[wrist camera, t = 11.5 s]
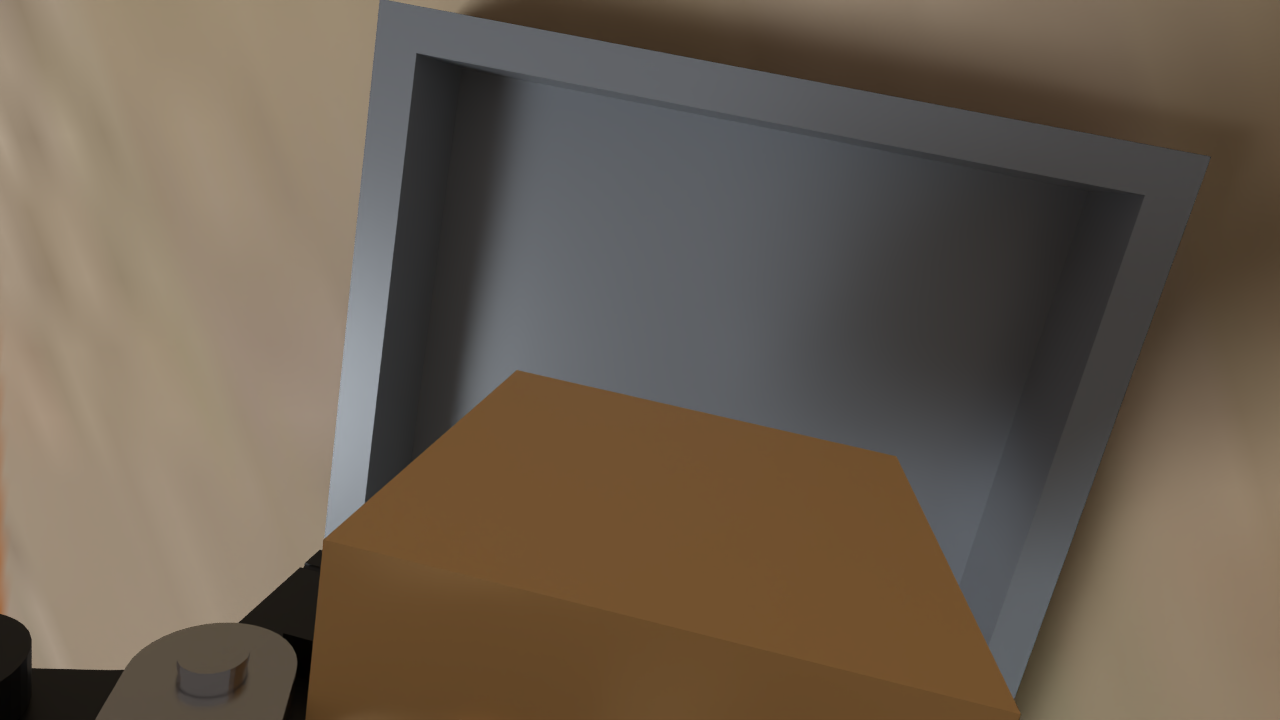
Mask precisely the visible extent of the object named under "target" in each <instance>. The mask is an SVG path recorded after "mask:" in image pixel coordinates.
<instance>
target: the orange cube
mask: <svg viewBox="0 0 1280 720" xmlns="http://www.w3.org/2000/svg"><path fill="white" fill-rule="evenodd" d="M1020 716H1021V713H1020V711H1019V709H1018V707H1017V705H1016V703H1015V701H1014V699H1013V697H1012V695H1011V693H1010V691H1009V688H1008V686H1007V684H1006V682H1005V680H1004V678H1003V676H1002V674H1001V672H1000V670H999V668H998V666H997V664H996V662H995V659H994V657H993V655H992V653H991V651H990V649H989V647H988V645H987V643H986V641H985V639H984V637H983V635H982V633H981V630H980V628H979V626H978V624H977V622H976V620H975V618H974V616H973V614H972V612H971V610H970V608H969V606H968V604H967V601H966V599H965V597H964V595H963V593H962V591H961V589H960V587H959V585H958V583H957V581H956V579H955V577H954V575H953V572H952V570H951V568H950V566H949V564H948V562H947V560H946V558H945V556H944V554H943V552H942V550H941V548H940V546H939V543H938V541H937V539H936V537H935V535H934V533H933V531H932V529H931V527H930V525H929V523H928V521H927V519H926V517H925V514H924V512H923V510H922V508H921V506H920V504H919V502H918V500H917V498H916V496H915V494H914V492H913V490H912V488H911V485H910V483H909V481H908V479H907V477H906V475H905V473H904V471H903V469H902V467H901V465H900V463H899V461H898V459H897V456H893V455H889V454H884V453H880V452H875V451H871V450H867V449H862V448H858V447H853V446H849V445H845V444H840V443H836V442H831V441H827V440H823V439H818V438H814V437H809V436H805V435H801V434H796V433H792V432H787V431H783V430H779V429H774V428H770V427H765V426H761V425H757V424H752V423H748V422H743V421H739V420H735V419H730V418H726V417H721V416H717V415H713V414H708V413H704V412H699V411H695V410H691V409H686V408H682V407H677V406H673V405H669V404H664V403H660V402H655V401H651V400H647V399H642V398H638V397H633V396H629V395H625V394H620V393H616V392H611V391H607V390H603V389H598V388H594V387H589V386H585V385H581V384H576V383H572V382H567V381H563V380H559V379H554V378H550V377H545V376H541V375H537V374H532V373H528V372H523V371H519V370H516V371H515V372H514V373H513V374H512V375H511V376H509V377H508V378H507V379H506V380H505V381H504V382H503V383H501V384H500V385H499V386H498V387H497V388H496V389H495V390H493V391H492V392H491V393H490V394H489V395H488V396H487V397H485V398H484V399H483V400H482V401H481V402H480V403H479V404H477V405H476V406H475V407H474V408H473V409H472V410H471V411H470V412H468V413H467V414H466V415H465V416H464V417H463V418H462V419H460V420H459V421H458V422H457V423H456V424H455V425H454V426H452V427H451V428H450V429H449V430H448V431H447V432H446V433H444V434H443V435H442V436H441V437H440V438H439V439H438V440H436V441H435V442H434V443H433V444H432V445H431V446H430V447H428V448H427V449H426V450H425V451H424V452H423V453H422V454H420V455H419V456H418V457H417V458H416V459H415V460H414V461H413V462H411V463H410V464H409V465H408V466H407V467H406V468H405V469H403V470H402V471H401V472H400V473H399V474H398V475H397V476H395V477H394V478H393V479H392V480H391V481H390V482H389V483H387V484H386V485H385V486H384V487H383V488H382V489H381V490H379V491H378V492H377V493H376V494H375V495H374V496H373V497H371V498H370V499H369V500H368V501H367V502H366V503H365V504H363V505H362V506H361V507H360V508H359V509H358V510H357V511H355V512H354V513H353V514H352V515H351V516H350V517H349V518H348V519H346V520H345V521H344V522H343V523H342V524H341V525H340V526H338V527H337V528H336V529H335V530H334V531H333V532H332V533H330V534H329V535H328V536H327V537H326V538H325V539H324V540H323V550H322V560H321V570H320V579H319V589H318V599H317V609H316V619H315V629H314V639H313V649H312V659H311V669H310V679H309V689H308V698H307V708H306V718H305V720H1019V718H1020Z"/></svg>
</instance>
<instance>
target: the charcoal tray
mask: <svg viewBox="0 0 1280 720" xmlns="http://www.w3.org/2000/svg"><path fill="white" fill-rule="evenodd" d="M1210 158H1211V157H1210V156H1205V155H1199V154H1194V153H1189V152H1184V151H1178V150H1173V149H1168V148H1163V147H1157V146H1152V145H1147V144H1142V143H1136V142H1131V141H1126V140H1120V139H1115V138H1110V137H1105V136H1099V135H1094V134H1089V133H1084V132H1078V131H1073V130H1068V129H1063V128H1057V127H1052V126H1047V125H1041V124H1036V123H1031V122H1026V121H1020V120H1015V119H1010V118H1005V117H999V116H994V115H989V114H984V113H978V112H973V111H968V110H963V109H957V108H952V107H947V106H941V105H936V104H931V103H926V102H920V101H915V100H910V99H905V98H899V97H894V96H889V95H884V94H878V93H873V92H868V91H862V90H857V89H852V88H847V87H841V86H836V85H831V84H826V83H820V82H815V81H810V80H805V79H799V78H794V77H789V76H784V75H778V74H773V73H768V72H762V71H757V70H752V69H747V68H741V67H736V66H731V65H726V64H720V63H715V62H710V61H705V60H699V59H694V58H689V57H683V56H678V55H673V54H668V53H662V52H657V51H652V50H647V49H641V48H636V47H631V46H626V45H620V44H615V43H610V42H605V41H599V40H594V39H589V38H583V37H578V36H573V35H568V34H562V33H557V32H552V31H547V30H541V29H536V28H531V27H526V26H520V25H515V24H510V23H504V22H499V21H494V20H489V19H483V18H478V17H473V16H468V15H462V14H457V13H452V12H447V11H441V10H436V9H431V8H426V7H420V6H415V5H410V4H404V3H399V2H394V1H389V0H380V3H379V13H378V22H377V32H376V42H375V52H374V61H373V71H372V81H371V91H370V100H369V110H368V120H367V129H366V139H365V149H364V159H363V168H362V178H361V188H360V198H359V207H358V217H357V227H356V236H355V246H354V256H353V266H352V275H351V285H350V295H349V305H348V314H347V324H346V334H345V344H344V353H343V363H342V373H341V382H340V392H339V402H338V412H337V421H336V431H335V441H334V451H333V460H332V470H331V480H330V489H329V499H328V509H327V519H326V528H325V538H326V537H327V536H328V535H329V534H330V533H332V532H333V531H334V530H335V529H336V528H337V527H338V526H340V525H341V524H342V523H343V522H344V521H345V520H346V519H348V518H349V517H350V516H351V515H352V514H353V513H354V512H355V511H357V510H358V509H359V508H360V507H361V506H362V505H363V504H365V503H366V502H367V501H368V500H369V499H370V498H371V497H373V496H374V495H375V494H376V493H377V492H378V491H379V490H381V489H382V488H383V487H384V486H385V485H386V484H387V483H389V482H390V481H391V480H392V479H393V478H394V477H395V476H397V475H398V474H399V473H400V472H401V471H402V470H403V469H405V468H406V467H407V466H408V465H409V464H410V463H411V462H413V461H414V460H415V459H416V458H417V457H418V456H419V455H420V454H422V453H423V452H424V451H425V450H426V449H427V448H428V447H430V446H431V445H432V444H433V443H434V442H435V441H436V440H438V439H439V438H440V437H441V436H442V435H443V434H444V433H446V432H447V431H448V430H449V429H450V428H451V427H452V426H454V425H455V424H456V423H457V422H458V421H459V420H460V419H462V418H463V417H464V416H465V415H466V414H467V413H468V412H470V411H471V410H472V409H473V408H474V407H475V406H476V405H477V404H479V403H480V402H481V401H482V400H483V399H484V398H485V397H487V396H488V395H489V394H490V393H491V392H492V391H493V390H495V389H496V388H497V387H498V386H499V385H500V384H501V383H503V382H504V381H505V380H506V379H507V378H508V377H509V376H511V375H512V374H513V373H514V372H515V371H516V370H519V371H523V372H528V373H532V374H537V375H541V376H545V377H550V378H554V379H559V380H563V381H567V382H572V383H576V384H581V385H585V386H589V387H594V388H598V389H603V390H607V391H611V392H616V393H620V394H625V395H629V396H633V397H638V398H642V399H647V400H651V401H655V402H660V403H664V404H669V405H673V406H677V407H682V408H686V409H691V410H695V411H699V412H704V413H708V414H713V415H717V416H721V417H726V418H730V419H735V420H739V421H743V422H748V423H752V424H757V425H761V426H765V427H770V428H774V429H779V430H783V431H787V432H792V433H796V434H801V435H805V436H809V437H814V438H818V439H823V440H827V441H831V442H836V443H840V444H845V445H849V446H853V447H858V448H862V449H867V450H871V451H875V452H880V453H884V454H889V455H893V456H897V459H898V461H899V463H900V465H901V467H902V469H903V471H904V473H905V475H906V477H907V479H908V481H909V483H910V485H911V488H912V490H913V492H914V494H915V496H916V498H917V500H918V502H919V504H920V506H921V508H922V510H923V512H924V514H925V517H926V519H927V521H928V523H929V525H930V527H931V529H932V531H933V533H934V535H935V537H936V539H937V541H938V543H939V546H940V548H941V550H942V552H943V554H944V556H945V558H946V560H947V562H948V564H949V566H950V568H951V570H952V572H953V575H954V577H955V579H956V581H957V583H958V585H959V587H960V589H961V591H962V593H963V595H964V597H965V599H966V601H967V604H968V606H969V608H970V610H971V612H972V614H973V616H974V618H975V620H976V622H977V624H978V626H979V628H980V630H981V633H982V635H983V637H984V639H985V641H986V643H987V645H988V647H989V649H990V651H991V653H992V655H993V657H994V659H995V662H996V664H997V666H998V668H999V670H1000V672H1001V674H1002V676H1003V678H1004V680H1005V682H1006V684H1007V686H1008V688H1009V691H1010V693H1011V695H1012V697H1013V699H1014V698H1015V696H1016V693H1017V690H1018V687H1019V685H1020V682H1021V679H1022V676H1023V674H1024V671H1025V668H1026V665H1027V663H1028V660H1029V657H1030V654H1031V652H1032V649H1033V646H1034V643H1035V640H1036V638H1037V635H1038V632H1039V629H1040V627H1041V624H1042V621H1043V618H1044V616H1045V613H1046V610H1047V607H1048V605H1049V602H1050V599H1051V596H1052V594H1053V591H1054V588H1055V585H1056V583H1057V580H1058V577H1059V574H1060V572H1061V569H1062V566H1063V563H1064V561H1065V558H1066V555H1067V552H1068V550H1069V547H1070V544H1071V541H1072V539H1073V536H1074V533H1075V530H1076V528H1077V525H1078V522H1079V519H1080V516H1081V514H1082V511H1083V508H1084V505H1085V503H1086V500H1087V497H1088V494H1089V492H1090V489H1091V486H1092V483H1093V481H1094V478H1095V475H1096V472H1097V470H1098V467H1099V464H1100V461H1101V459H1102V456H1103V453H1104V450H1105V448H1106V445H1107V442H1108V439H1109V437H1110V434H1111V431H1112V428H1113V426H1114V423H1115V420H1116V417H1117V415H1118V412H1119V409H1120V406H1121V403H1122V401H1123V398H1124V395H1125V392H1126V390H1127V387H1128V384H1129V381H1130V379H1131V376H1132V373H1133V370H1134V368H1135V365H1136V362H1137V359H1138V357H1139V354H1140V351H1141V348H1142V346H1143V343H1144V340H1145V337H1146V335H1147V332H1148V329H1149V326H1150V324H1151V321H1152V318H1153V315H1154V313H1155V310H1156V307H1157V304H1158V302H1159V299H1160V296H1161V293H1162V291H1163V288H1164V285H1165V282H1166V279H1167V277H1168V274H1169V271H1170V268H1171V266H1172V263H1173V260H1174V257H1175V255H1176V252H1177V249H1178V246H1179V244H1180V241H1181V238H1182V235H1183V233H1184V230H1185V227H1186V224H1187V222H1188V219H1189V216H1190V213H1191V211H1192V208H1193V205H1194V202H1195V200H1196V197H1197V194H1198V191H1199V189H1200V186H1201V183H1202V180H1203V178H1204V175H1205V172H1206V169H1207V166H1208V164H1209V161H1210ZM325 538H324V539H325Z"/></svg>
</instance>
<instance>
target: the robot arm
mask: <svg viewBox="0 0 1280 720" xmlns="http://www.w3.org/2000/svg"><path fill="white" fill-rule="evenodd" d="M321 560H322V550H319V551H318V552H317V553H316V554H315V555H314V556H312V557H311V558H310V559H309V560H308V561H307V562H306V563H305V566H304V568H299V569H298V570H297V571H296V572H295V573H293V574H292V575H291V576H290V577H289V578H288V579H287V580H286V581H285V582H283V583H282V584H281V585H280V586H279V587H278V588H277V589H276V590H274V591H273V592H272V593H271V594H270V595H269V596H268V597H267V598H266V599H264V600H263V601H262V602H261V603H260V604H259V605H258V606H257V607H256V608H254V609H253V610H252V611H251V612H250V613H249V614H248V615H247V616H245V617H244V618H243V619H242V620H241V621H240V622H239V623H213V624H204V625H199V626H194V627H189V628H186V629H182V630H179V631H176V632H173V633H171V634H168V635H166V636H164V637H162V638H160V639H158V640H156V641H154V642H152V643H151V644H149V645H148V646H146V647H145V648H143V649H142V650H141V651H140V652H139V653H138V654H136V655H135V656H134V657H133V658H132V660H131V661H130V662H129V664H128V665H127V666H126V668H125V670H77V669H36V668H32V644H31V636H30V633H29V631H28V630H27V629H26V627H25V626H24V625H23V624H21V623H20V622H18V621H17V620H15V619H13V618H11V617H8V616H6V615H2V614H0V720H305V718H306V708H307V698H308V689H309V679H310V669H311V659H312V649H313V639H314V629H315V619H316V609H317V599H318V589H319V579H320V570H321Z"/></svg>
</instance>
